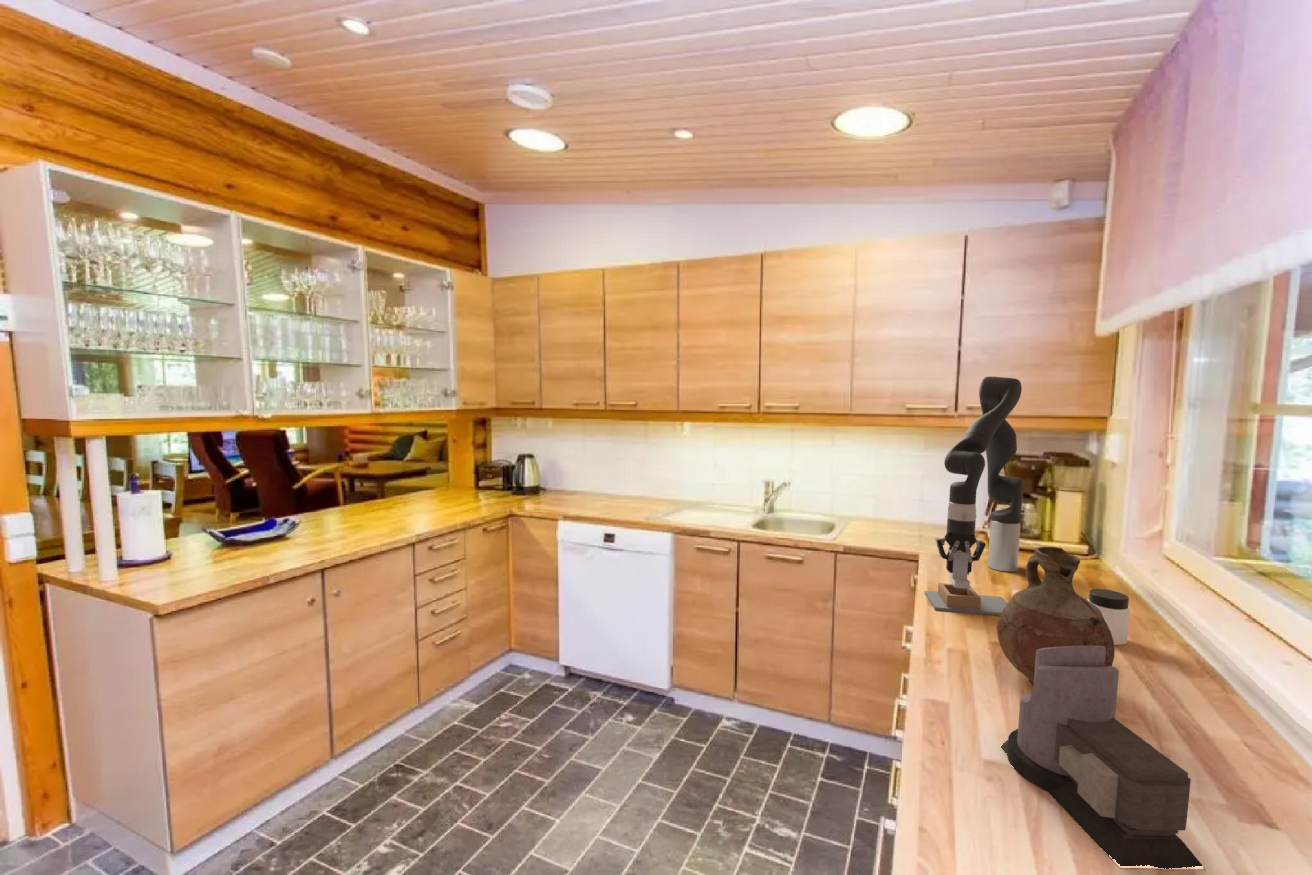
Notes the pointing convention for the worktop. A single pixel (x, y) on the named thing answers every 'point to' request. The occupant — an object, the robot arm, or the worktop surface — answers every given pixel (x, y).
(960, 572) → the block
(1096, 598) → the jar
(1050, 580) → the jug
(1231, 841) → the worktop surface
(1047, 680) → the brown blocky piece
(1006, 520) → the robot arm
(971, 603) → the board
